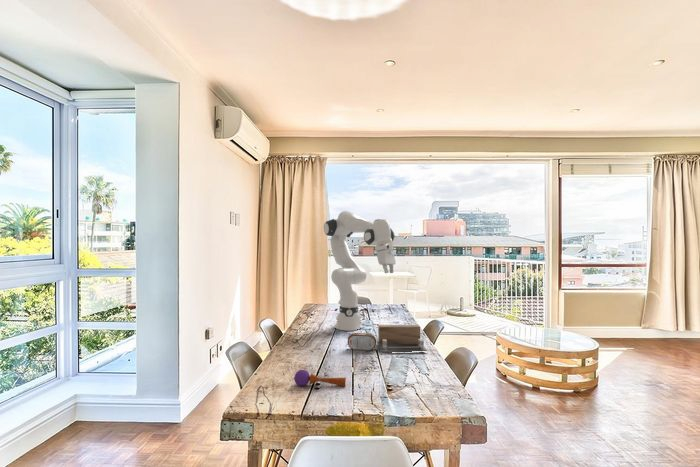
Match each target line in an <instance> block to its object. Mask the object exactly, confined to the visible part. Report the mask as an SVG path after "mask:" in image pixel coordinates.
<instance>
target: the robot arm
mask: <svg viewBox="0 0 700 467" xmlns="http://www.w3.org/2000/svg"><path fill="white" fill-rule="evenodd" d="M323 232H324V233H325V235H326V236H327V237H330V240H329V241H330V246H331V248H330V249H331V251H332V254H333V258H334V261H335V263H336V264H337V265H339V266H340V267H338V268H336V269H334V270H333V271H332V273H331V276H330V278H331V281H332V283H333V284H334V285H335V286H336V288H337V289H338V292H339V298H340V300H339V303H340V305H339V308H338V309H339V313H338V314H337V316H336V323H335V324H334V325H333V329H335V328H336V329H337V330H340V331H350V332H351V331H358V330H360V328H361V329H363V328H364V326H363V325H362V324H361V314H360V313H359V305H358V293H357V292H356V291H355V290H353V288H352V287H353V286H352V285H359V284H362V283H364V282H366V279H367V272H366V270H365V269H364V268H363V267H361V266H360V265H359V264H358V263H357V262H356V260H354V258H353V256H352V253H351V250H350V249H349V246H348V242H347V238H350V237H351V236H352V235H353V234H354V233H358V234H359V233H363V240H364V242H365V243H366V245H368V246H375V247H374V251H375V252H376V258H377V261H378V265H379V266H382V268H383V272H384V274H389V273H390V274H393V273H394V265H396V258H395V254H394V250H395V249H394V244H393V242H394V240H395V232H394V230H393V229H392V228H391V227H390V223H389V221H388V219H384V218H383V219H382V218H381V219H380V218H379V219H378V218H377V219H374V220H373V222H372V221H370V220H368V219H365V218H363V217H361V216H359V215H358V214H355V213H354V212H351V211H348V210H343V211H341V212H340V213H339V214H338V217H337V218H336V219H334V218H332V219H329V220H326V221H325V222H324V224H323ZM388 267H389V268H388ZM336 329H335V330H336ZM357 329H358V330H357Z"/></svg>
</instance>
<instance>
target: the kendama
mask: <svg viewBox="0 0 700 467" xmlns="http://www.w3.org/2000/svg"><path fill="white" fill-rule="evenodd" d="M293 379H294V380H293V381H294V383H295V384H296V385H297V386H299V387H305V386H307V385H308V384H309V385H312V384H315V383H318V382H322V383H327V384H331V385H336V386H341V387H344V386H345V387H346V383H347V382H346V381H347V377H318V376H317V375H315V374H314V373H313V372H312V373H311V372H310V373H309V372H308V370H306V369H300V370H297V371H296V372H295V374H294V376H293Z"/></svg>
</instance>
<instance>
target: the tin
mask: <svg viewBox="0 0 700 467" xmlns="http://www.w3.org/2000/svg"><path fill="white" fill-rule="evenodd" d="M377 341H378V340H377V338H376V337H375V335H374V334H371V333H365V332H363V333H361V332H353V333H351V334H349V335H348V338H347V345H348V347H349V349H350V350H353V351H365V350H370V351H373V350H374V349H375V348H376V345H377Z"/></svg>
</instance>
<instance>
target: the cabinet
mask: <svg viewBox="0 0 700 467" xmlns="http://www.w3.org/2000/svg"><path fill="white" fill-rule="evenodd" d="M377 332H378V334H377V336H378V337H377V340H376V341H377V343H376V345H377V344H378V345H377V346H379V347H378V348H380V349H379V351H380V350H381V351H380V352H382V353H392V352H412V351H427V352H428V350H427V348H425V347H424V339H423V338H422V339H421V326H420V325H419V324H378V331H377ZM382 353H381V354H382Z"/></svg>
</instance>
